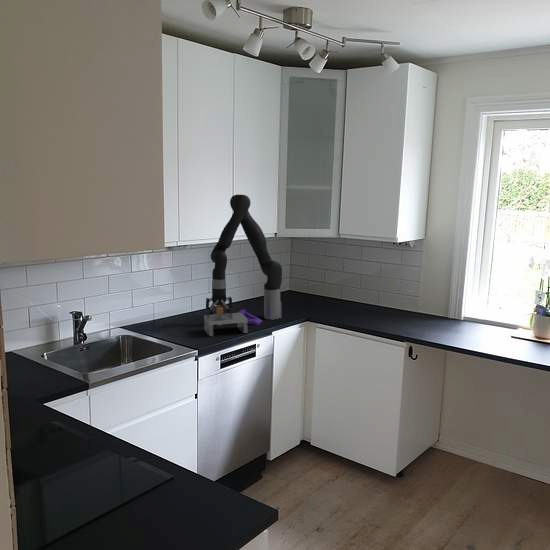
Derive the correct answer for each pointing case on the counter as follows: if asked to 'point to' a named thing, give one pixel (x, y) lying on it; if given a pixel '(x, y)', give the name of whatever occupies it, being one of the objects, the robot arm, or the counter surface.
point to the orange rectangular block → (219, 311)
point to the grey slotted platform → (225, 321)
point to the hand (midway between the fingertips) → (219, 316)
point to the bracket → (250, 318)
